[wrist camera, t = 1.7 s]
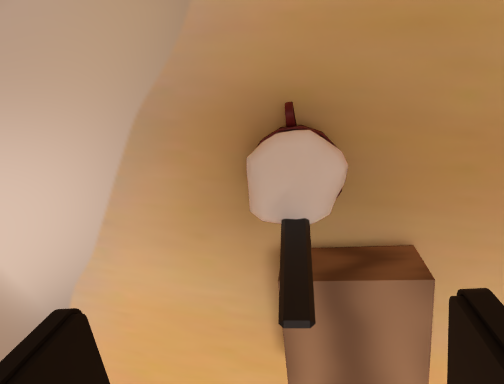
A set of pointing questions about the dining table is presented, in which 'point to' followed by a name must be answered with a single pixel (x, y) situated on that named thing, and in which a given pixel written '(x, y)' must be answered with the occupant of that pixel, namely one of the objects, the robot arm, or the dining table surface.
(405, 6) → the dining table surface
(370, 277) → the walnut block
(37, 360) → the robot arm
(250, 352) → the dining table surface
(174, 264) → the dining table surface
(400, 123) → the dining table surface
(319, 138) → the cocoa
